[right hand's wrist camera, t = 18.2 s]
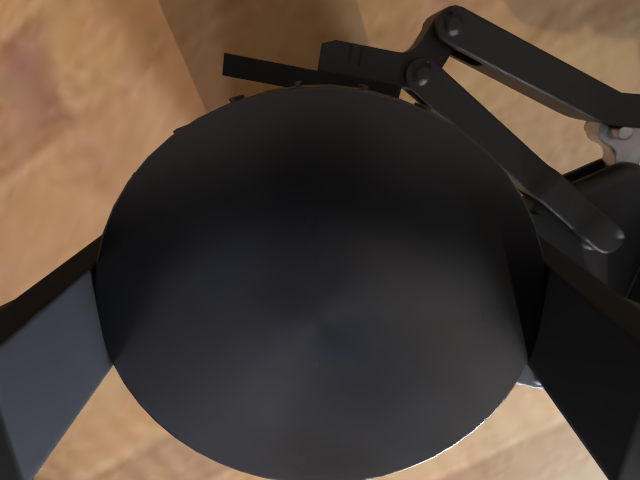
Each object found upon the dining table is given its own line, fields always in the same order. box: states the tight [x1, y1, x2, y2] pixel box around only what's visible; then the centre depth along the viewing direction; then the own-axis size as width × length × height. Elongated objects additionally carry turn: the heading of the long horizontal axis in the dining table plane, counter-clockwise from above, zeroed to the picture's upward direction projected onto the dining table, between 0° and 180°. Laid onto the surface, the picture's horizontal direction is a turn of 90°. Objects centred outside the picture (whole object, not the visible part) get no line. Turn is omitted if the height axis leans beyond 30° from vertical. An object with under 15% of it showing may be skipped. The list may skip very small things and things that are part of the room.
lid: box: [95, 81, 546, 480], centre depth 11 cm, size 10×10×2 cm
